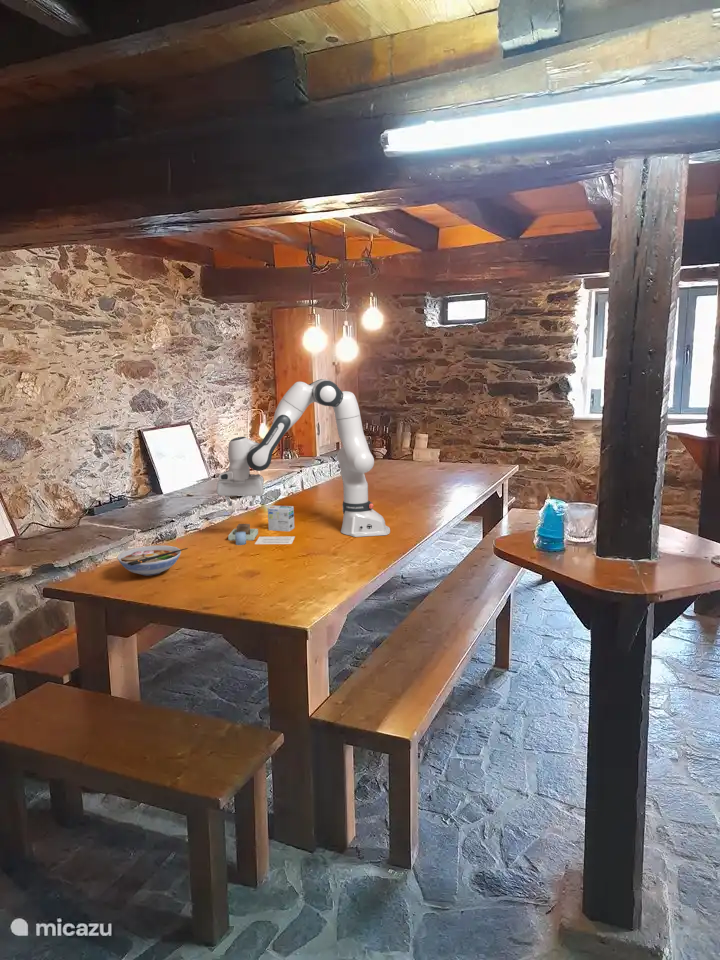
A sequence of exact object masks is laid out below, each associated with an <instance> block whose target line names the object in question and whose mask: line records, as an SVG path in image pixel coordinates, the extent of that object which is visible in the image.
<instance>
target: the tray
mask: <svg viewBox="0 0 720 960" xmlns="http://www.w3.org/2000/svg"><path fill="white" fill-rule="evenodd" d="M236 532H237V529H236V528H233V530H232V531H230V533H229V534H228V541H235V542H236V539H235V533H236ZM258 535H259V528H250V535H246V541H254V540H255V539H256V537H257V536H258Z"/></svg>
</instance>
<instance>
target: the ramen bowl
mask: <svg viewBox="0 0 720 960" xmlns="http://www.w3.org/2000/svg"><path fill="white" fill-rule="evenodd" d="M188 549H189V548H188V547H185V548H182V549H180V548H179V547H177V546H171V545H159V544H158V545H156V544H155V545H146V546H145V545H144V546H141V547H134V548H131V549H127V550H125V551H122V552H121V553H119V554H118V555H117V560H118V562H119V563H120V565H122V567H123V568H125V570H127V571H129V572H131V573H132V574H138V575H142V576H146V577H147V576H148V577H149V576H156V575H159V574H161V573H162V572H165V571H167V570H169V569H170V568H172V567H173V566H174V565H175V564H176V563H177V561H178V560H179V558H180V556H181V554H182V551H185V550H188Z"/></svg>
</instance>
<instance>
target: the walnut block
mask: <svg viewBox="0 0 720 960" xmlns="http://www.w3.org/2000/svg"><path fill="white" fill-rule="evenodd" d="M235 529H237V532H241V531H242V532H246V535H250V529H251V523H238V524H237V525H236V527H235Z"/></svg>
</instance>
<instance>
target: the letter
mask: <svg viewBox="0 0 720 960" xmlns="http://www.w3.org/2000/svg"><path fill="white" fill-rule="evenodd" d="M295 538H296V536H293V535H292V536H287V535H286V536H259V537H258V538H257V540H256V541H255V542H254V545H292V544H293V542H294V540H295Z"/></svg>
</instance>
